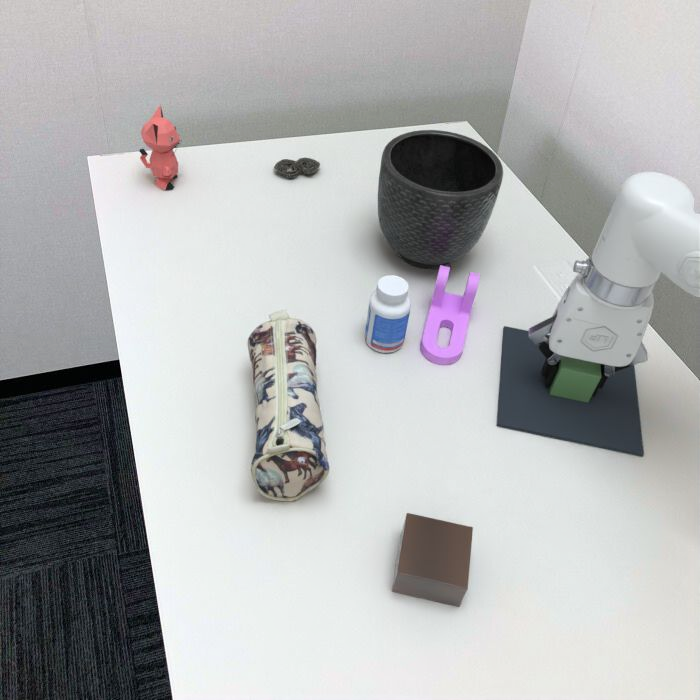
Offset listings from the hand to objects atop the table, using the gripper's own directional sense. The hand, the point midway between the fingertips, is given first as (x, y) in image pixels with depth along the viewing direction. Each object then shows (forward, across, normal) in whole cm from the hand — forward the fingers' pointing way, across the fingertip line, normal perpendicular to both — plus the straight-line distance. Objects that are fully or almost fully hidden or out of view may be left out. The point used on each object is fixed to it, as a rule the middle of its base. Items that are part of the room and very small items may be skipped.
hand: (569, 382), depth 96 cm
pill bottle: (+1, -25, +2) cm, 25 cm away
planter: (+1, -22, +23) cm, 32 cm away
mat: (+1, 0, 0) cm, 1 cm away
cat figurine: (+2, -66, +28) cm, 72 cm away
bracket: (+1, -17, +6) cm, 18 cm away
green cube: (0, 0, 0) cm, 0 cm away
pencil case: (+1, -34, -16) cm, 38 cm away
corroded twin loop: (+1, -46, +38) cm, 60 cm away
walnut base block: (+1, -15, -30) cm, 34 cm away
